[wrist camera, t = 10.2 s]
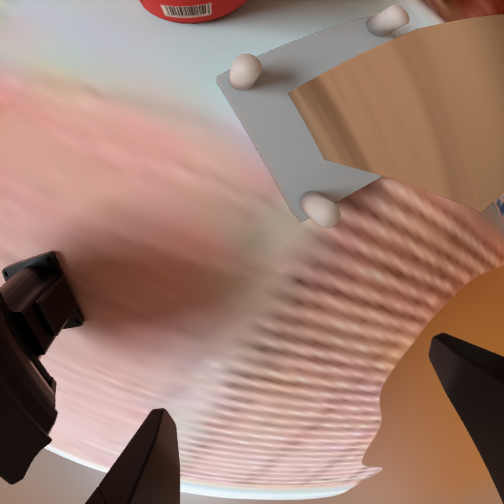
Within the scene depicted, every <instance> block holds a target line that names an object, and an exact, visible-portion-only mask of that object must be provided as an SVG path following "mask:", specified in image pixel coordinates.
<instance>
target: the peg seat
mask: <svg viewBox="0 0 504 504" xmlns="http://www.w3.org/2000/svg"><path fill="white" fill-rule="evenodd" d="M408 22H409V16H408V14H407V12H406V11H405V10H404V9H403V8H402V7H401V6H399V5H391V6H390V7H388V8H386V9H385V10H383V11H381V12H380V13H378V14H376V15H375V16H371V17H367V18H363V19H359V20H355V21H352V22H348V23H345V24H342V25H338V26H335V27H332V28H329V29H326V30H323V31H320V32H317V33H314V34H311V35H308V36H306V37H303V38H300V39H298V40H295V41H292V42H290V43H287V44H285V45H282V46H280V47H278V48H275V49H273V50H271V51H268V52H266V53H264V54H261V55H259V56H257V57H255V56H253V55H250V54H243V55H240V56H238V57H236V58H235V59H234V61H233V62H232V66H231V69H230V70H228V71H226V72H224V73H222V74H220V75H219V76H217V84H218V86H219V87H220V89H221V90H222V92H223V94H224V95H225V97H226V98H227V100H228V102H229V103H230V105H231V107H232V108H233V110H234V111H235V113H236V115H237V116H238V118H239V120H240V121H241V123H242V125H243V126H244V128H245V130H246V131H247V133H248V135H249V137H250V138H251V140H252V142H253V143H254V145H255V147H256V149H257V150H258V152H259V154H260V156H261V157H262V159H263V161H264V163H265V164H266V166H267V168H268V170H269V171H270V173H271V175H272V177H273V178H274V180H275V182H276V184H277V186H278V187H279V189H280V191H281V193H282V195H283V197H284V198H285V200H286V202H287V204H288V206H289V208H290V210H291V211H292V213H293V215H294V216H295V217H296V218H297V219H298V220H299V221H300V222H303V221H305V220H307V219H308V218H311V219H313V220H314V221H315V222H316V223H317V224H318V225H319V226H321V227H323V228H330V227H333V226H334V225H335V224H336V223H337V222H338V220H339V218H340V210H339V207H338V206H337V205H336V204H335V203H336V202H338V201H340V200H342V199H343V198H345V197H347V196H349V195H350V194H352V193H354V192H356V191H357V190H359V189H361V188H363V187H364V186H366V185H368V184H370V183H371V182H373V181H375V180H377V179H378V178H380V177H382V176H380V175H377V174H374V173H370V172H367V171H363V170H360V169H356V168H353V167H349V166H346V165H342V164H338V163H334V162H330V161H326V160H324V158H323V156H322V154H321V152H320V150H319V148H318V147H317V145H316V143H315V141H314V139H313V137H312V135H311V133H310V132H309V130H308V128H307V126H306V124H305V122H304V121H303V119H302V117H301V115H300V114H299V112H298V110H297V108H296V107H295V105H294V103H293V101H292V100H291V98H290V96H289V95H288V93H289V92H291V91H292V90H294V89H296V88H298V87H299V86H301V85H303V84H304V83H306V82H308V81H310V80H312V79H313V78H315V77H317V76H319V75H321V74H322V73H324V72H326V71H328V70H330V69H332V68H334V67H336V66H338V65H339V64H341V63H343V62H345V61H347V60H349V59H351V58H353V57H355V56H357V55H360V54H362V53H364V52H366V51H368V50H370V49H372V48H374V47H377V46H379V45H381V44H383V43H385V42H388V41H390V40H392V39H395V37H394V36H393V34H392V32H391V31H393V30H395V29H397V28H400V27H402V26H404V25H406V24H408Z"/></svg>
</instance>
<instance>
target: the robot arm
mask: <svg viewBox="0 0 504 504" xmlns="http://www.w3.org/2000/svg"><path fill="white" fill-rule="evenodd" d="M49 257H50V258H51V260H52V261H51V260H50V259H49ZM7 273H8V274H7ZM2 274H3V276H4V279H5V281H6V282H5V283H4V284H3V285H2V286H1V287H0V477H1V478H3V479H4V480H5V481H6V482H8V483H9V484H15V483H17V482H18V481H20V480H22V479H23V478H24V476H25V474H26V472H27V470H28V468H29V466H30V464H31V462H32V461H33V459H34V457H35V456H36V455H37V454H38V453H39V451H40V450H41V449H43V448H44V447H45V446H47V445H48V444H49V443H51V441H52V439H51V438H50V437H49V436H48V435H49V433H50V431H51V429H52V427H53V426H54V424H55V421H56V418H57V415H58V412H57V410H56V409H55V393H56V381H55V380H54V378H53V377H51V376H50V375H49V373H48V372H47V371H46V369H45V368H44V366H43V365H42V363H41V362H40V358H41V356H42V355H45V354H46V352H47V350H48V349H49V347H50V345H51V344H52V342H53V341H54V339H55V337H56V336H58V335H59V333H60V332H61V330H62V329H67V328H73V327H78V326H82V325H83V323H84V321H85V319H84V317H83V315H82V313H81V311H80V309H79V307H78V305H77V302H76V300H75V298H74V296H73V294H72V292H71V290H70V287H69V285H68V283H67V281H66V278H65V277H64V275H63V272H62V270H61V268H60V265H59V263H58V260H57V258H56V256H55V254H54V253H53V252H47V253H44V254H41V255H38V256H35V257H32V258H30V259H27V260H24V261H21V262H18V263H15V264H13V265H10V266H7V267H5V268H4V269H3V271H2ZM77 319H79V320H80V321H79V320H77ZM429 359H430V361H431V363H432V365H433V367H434V369H435V371H436V374H437V376H438V378H439V380H440V382H441V384H442V386H443V388H444V390H445V392H446V394H447V396H448V398H449V399H450V401H451V403H452V404H453V406H454V408H455V409H456V411H457V413H458V415H459V416H460V418H461V420H462V421H463V423H464V425H465V427H466V428H467V431H468V432H469V434H470V436H471V438H472V440H473V441H474V444H475V445H476V447H477V449H478V451H479V453H480V455H481V457H482V459H483V461H484V463H485V465H486V467H487V469H488V471H489V473H490V476H491V477H492V480H493V482H494V484H495V486H496V488H497V491H498V493H499V495H500V497H501V500H502V502H503V504H504V357H503V356H501V355H498V354H496V353H493V352H491V351H488V350H486V349H483V348H481V347H478V346H476V345H473V344H471V343H468V342H466V341H463V340H461V339H458V338H456V337H453V336H451V335H448V334H446V333H440V334H438V335H435V336H434V337H433V338H432V341H431V346H430V350H429ZM85 504H180V461H179V451H178V441H177V429H176V424H175V422H174V420H173V419H172V418H171V416H170V415H169V413H168V412H167V410H166V409H164V408H160V409H153V410H152V411H151V412H150V413H149V415H148V416H147V418H146V419H145V421H144V422H143V423H142V425H141V426H140V428H139V429H138V431H137V432H136V433H135V435H134V436H133V438H132V439H131V440H130V442H129V443H128V445H127V446H126V448H125V449H124V450H123V452H122V453H121V455H120V456H119V457H118V459H117V460H116V462H115V463H114V464H113V466H112V467H111V469H110V470H109V472H108V473H107V474H106V476H105V477H104V479H103V480H102V482H101V483H100V484H99V486H98V487H97V488H96V490H95V491H94V492H93V494H92V495H91V496H90V498H89V499H88V500H87V502H86V503H85Z"/></svg>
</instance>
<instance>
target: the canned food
mask: <svg viewBox="0 0 504 504" xmlns="http://www.w3.org/2000/svg"><path fill="white" fill-rule="evenodd" d="M246 1H248V0H140V2H141V4H142V5H143V7H144V8H145V9H146V10H148V11H149V12H150V13H152V14H153V15H155V16H157V17H159V18H162V19H165V20H168V21H171V22H176V23H201V22H207V21H211V20H215V19H218V18H221V17H223V16H226V15H228V14H229V13H231V12H233V11H235V10H236V9H238V8H239V7H240V6H241V5H243V4H244V3H245V2H246Z"/></svg>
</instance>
